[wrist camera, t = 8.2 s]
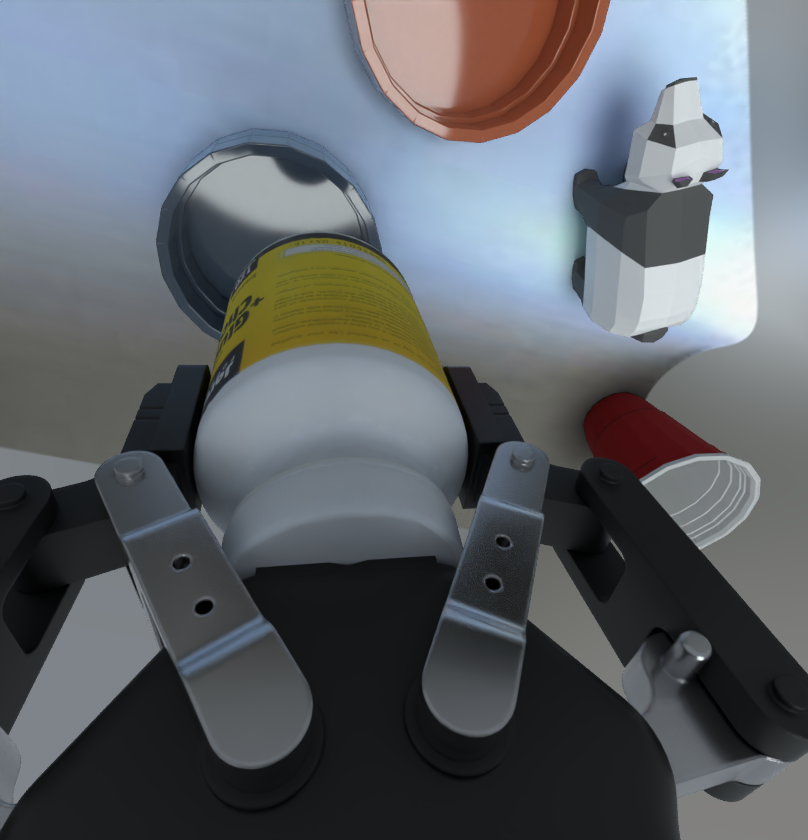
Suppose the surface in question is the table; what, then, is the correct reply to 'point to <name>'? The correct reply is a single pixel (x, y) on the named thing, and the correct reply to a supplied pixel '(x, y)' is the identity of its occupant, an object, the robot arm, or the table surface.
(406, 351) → the pill bottle
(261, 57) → the table surface
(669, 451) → the plastic cup
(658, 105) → the giant panda
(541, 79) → the terracotta bowl
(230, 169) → the metal bowl
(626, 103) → the table surface
